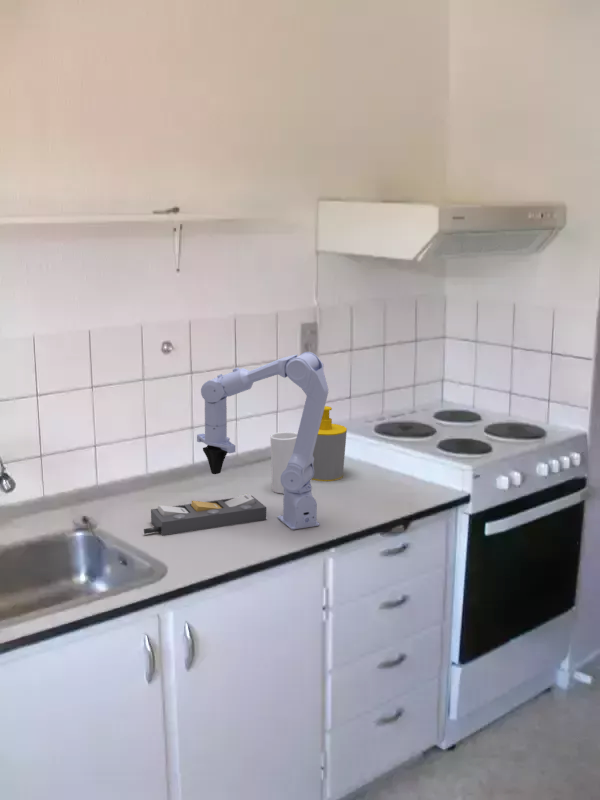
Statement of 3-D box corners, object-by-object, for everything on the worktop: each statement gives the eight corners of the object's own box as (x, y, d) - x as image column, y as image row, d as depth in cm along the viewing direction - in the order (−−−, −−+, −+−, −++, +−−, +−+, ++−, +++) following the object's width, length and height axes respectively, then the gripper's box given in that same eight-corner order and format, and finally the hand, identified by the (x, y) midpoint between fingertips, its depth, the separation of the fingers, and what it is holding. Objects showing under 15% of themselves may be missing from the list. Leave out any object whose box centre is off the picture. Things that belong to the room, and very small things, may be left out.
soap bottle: (300, 469, 277) (301, 402, 272) (342, 468, 279) (343, 402, 274) (305, 482, 265) (306, 412, 260) (349, 481, 266) (351, 412, 261)
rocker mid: (221, 514, 233) (223, 508, 233) (196, 511, 230) (198, 506, 230) (215, 508, 237) (216, 503, 237) (190, 505, 234) (192, 500, 234)
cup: (289, 495, 252) (288, 440, 249) (266, 490, 257) (264, 436, 254) (306, 487, 259) (304, 433, 256) (283, 483, 263) (281, 430, 260)
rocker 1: (188, 519, 229) (189, 513, 229) (162, 516, 226) (164, 510, 226) (182, 512, 233) (184, 507, 233) (157, 510, 230) (158, 504, 230)
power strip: (266, 519, 234) (266, 506, 233) (146, 537, 221) (146, 523, 220) (251, 507, 243) (251, 494, 242) (135, 524, 230) (135, 510, 229)
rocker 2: (255, 503, 236) (253, 498, 236) (231, 512, 234) (229, 507, 234) (248, 497, 241) (247, 492, 240) (224, 507, 238) (223, 502, 238)
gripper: (244, 426, 232) (244, 476, 235) (211, 415, 243) (212, 463, 246) (222, 431, 228) (223, 482, 231) (190, 419, 238) (190, 468, 241)
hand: (216, 473), depth 238 cm, fingers closed
